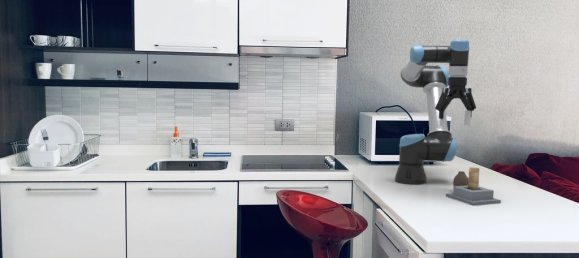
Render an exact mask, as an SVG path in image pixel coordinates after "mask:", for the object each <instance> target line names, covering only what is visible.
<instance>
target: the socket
mask: <svg viewBox="0 0 579 258" xmlns="http://www.w3.org/2000/svg"><path fill="white" fill-rule="evenodd" d="M494 192H495V191H494V190H493V189H490V188H487V187H484V186H479V187H478V190H470V189H468V185H467V186H453V185H452V192H448V193H445V197H447V198H450V199H453V200H456V201H459V202H462V203H464V204H468V205H470V206H482V205H494V204H501V203H502V200H501V199H499V198H495V197H494Z"/></svg>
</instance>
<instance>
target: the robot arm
mask: <svg viewBox="0 0 579 258" xmlns="http://www.w3.org/2000/svg"><path fill="white" fill-rule="evenodd" d="M469 54H470V41H469V39H452V40H451V41H450V45H421V44H420V45H412V46H411V47H410V51H409V61H408V63H407V64H405V65H404V66H403V67H402V68H401V71H400V78H401V80H402V82H403V83H405V84H406V85H407V86H409V87H412V88H422V91H423V93H424V94H426V104H427V115H428V127H429V132H428V133H427V136H425V134H424V133H413V134H406V135H403V136H401V137H400V140H399V146H398V147H399V157H398V158H399V159H398V167H397V170H396V173H395V175H394V181H395V182H397V183H400V184H407V185H424V184H427V176H426V175H427V174H426V171H425V168H424V163H425V162H443V163H444V162H452V161H453V160H454V159H455V157H456V153H457V147H458V146H457V144H458V141H457V139H456V137H452V136H453V135H452V133H451V131H449V128H448V120H447V111H446V109H447V108H448V107H449V105H450V104H451V102H452V101H453V100H454V99H460V101H461V103H462V104H463V106H464V108H465V109H466V110H465V111H464V120H463V121H464V124H463V125H464V126H467V127H470V126H471V119H472V115H473V114H472V113H473V111H475V110H476V109H477V105H476V103H475V99H474V97H473V93H472V88H471V87H467V84H468V78H467V76H468V71H469V69H468V68H469V67H468V66H469V56H470V55H469ZM428 64H449V65H448V69H447V67H446V66H444V65H428Z"/></svg>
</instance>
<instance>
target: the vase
mask: <svg viewBox="0 0 579 258" xmlns="http://www.w3.org/2000/svg"><path fill="white" fill-rule="evenodd" d="M468 178H469V176H467V174H466V172H465V171H462V170H460V171H458V172H457V174H456V175H455V176H454V178H453V182H452V187H453V186H467V185H468Z"/></svg>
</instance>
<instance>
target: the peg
mask: <svg viewBox="0 0 579 258" xmlns="http://www.w3.org/2000/svg"><path fill="white" fill-rule="evenodd" d="M479 181H480V168H479V167H468V189H470V190H478V187H480V185H479V184H480V182H479Z"/></svg>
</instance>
